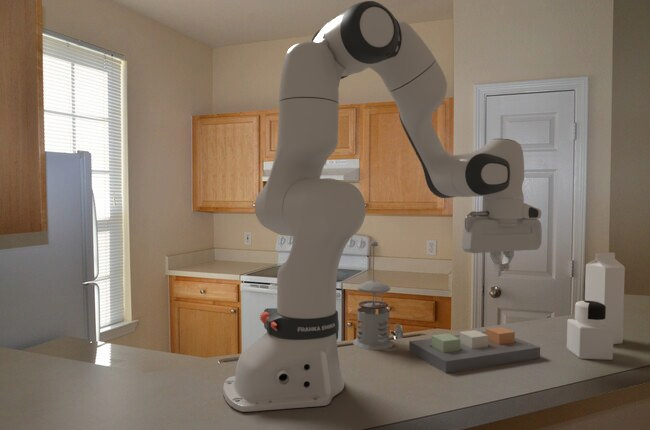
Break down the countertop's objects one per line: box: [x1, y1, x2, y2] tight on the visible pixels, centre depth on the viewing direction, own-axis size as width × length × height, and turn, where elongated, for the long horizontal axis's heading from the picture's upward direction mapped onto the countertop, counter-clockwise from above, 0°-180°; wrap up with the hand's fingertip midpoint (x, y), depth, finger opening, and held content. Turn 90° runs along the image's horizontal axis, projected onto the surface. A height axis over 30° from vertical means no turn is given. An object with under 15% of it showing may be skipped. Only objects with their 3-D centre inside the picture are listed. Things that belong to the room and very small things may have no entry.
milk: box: [584, 252, 626, 345], centre depth 117 cm, size 6×6×22 cm
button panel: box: [408, 331, 541, 374], centre depth 107 cm, size 25×14×2 cm, turn 111°
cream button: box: [459, 329, 488, 349], centre depth 107 cm, size 4×4×3 cm
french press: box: [352, 240, 394, 351], centre depth 115 cm, size 10×12×25 cm
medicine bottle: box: [566, 300, 614, 361], centre depth 107 cm, size 7×7×12 cm
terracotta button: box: [485, 326, 516, 345], centre depth 109 cm, size 4×4×3 cm
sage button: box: [431, 333, 460, 353], centre depth 104 cm, size 4×4×3 cm
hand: (501, 270), depth 109 cm, fingers closed
